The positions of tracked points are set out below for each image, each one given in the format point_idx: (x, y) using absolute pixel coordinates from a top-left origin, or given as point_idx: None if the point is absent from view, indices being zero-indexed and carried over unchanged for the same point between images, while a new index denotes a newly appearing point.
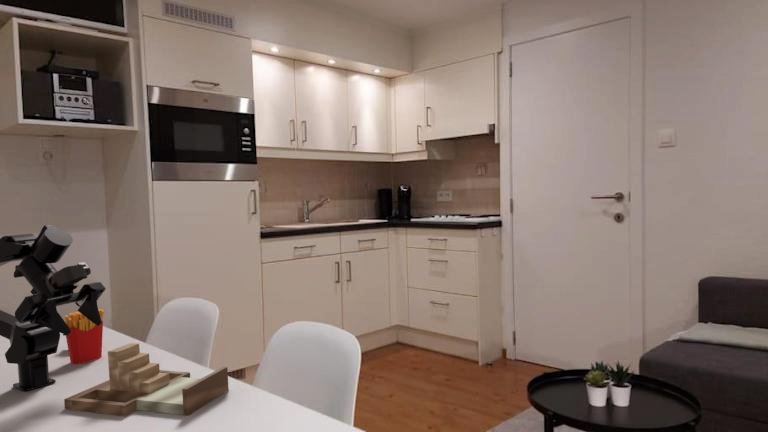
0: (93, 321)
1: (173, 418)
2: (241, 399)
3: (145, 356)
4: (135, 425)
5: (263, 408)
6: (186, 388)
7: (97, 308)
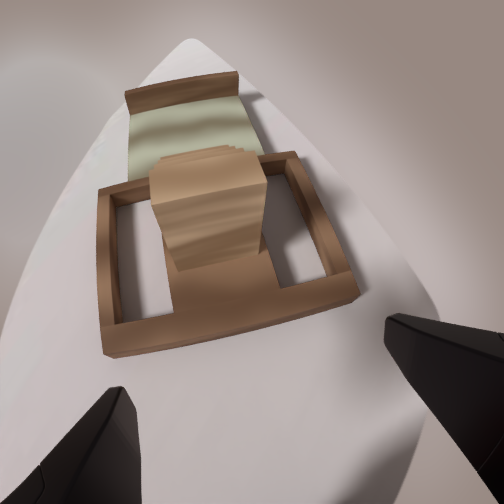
0: (136, 458)
1: (253, 111)
2: None
3: (170, 164)
4: (299, 131)
5: (179, 70)
6: (234, 72)
7: (37, 470)
